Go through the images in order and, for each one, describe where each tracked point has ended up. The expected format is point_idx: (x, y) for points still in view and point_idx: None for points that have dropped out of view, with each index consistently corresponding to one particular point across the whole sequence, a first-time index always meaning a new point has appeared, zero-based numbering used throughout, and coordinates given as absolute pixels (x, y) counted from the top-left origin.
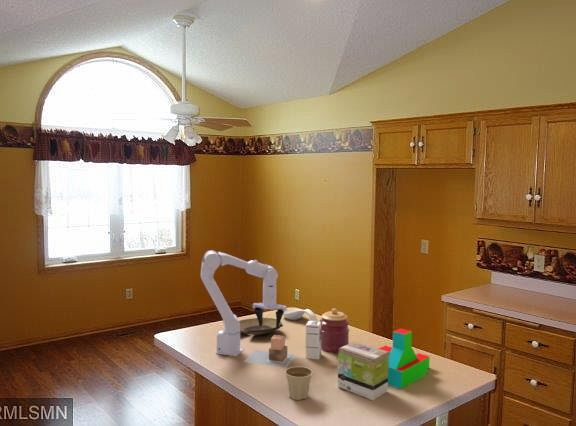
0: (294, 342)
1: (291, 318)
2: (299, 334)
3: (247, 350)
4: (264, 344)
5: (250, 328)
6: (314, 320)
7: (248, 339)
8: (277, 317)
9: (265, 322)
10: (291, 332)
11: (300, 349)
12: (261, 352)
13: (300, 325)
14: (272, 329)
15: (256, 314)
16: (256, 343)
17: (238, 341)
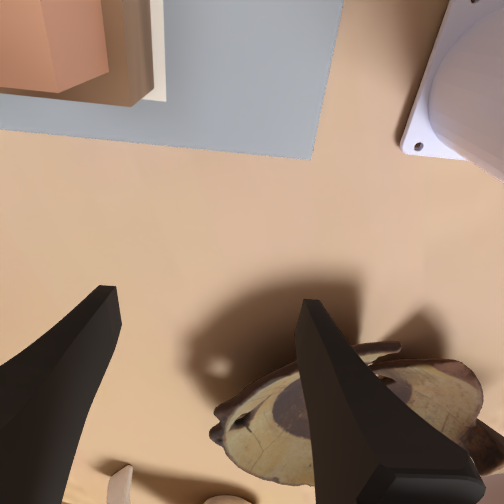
0: None
1: (226, 501)
2: (142, 405)
3: (368, 154)
4: (274, 271)
5: None
6: (114, 497)
7: (376, 316)
8: (16, 381)
9: None
10: (185, 415)
11: (37, 243)
12: (259, 123)
13: (176, 468)
14: (249, 387)
15: (406, 412)
16: (324, 276)
17: (499, 74)
